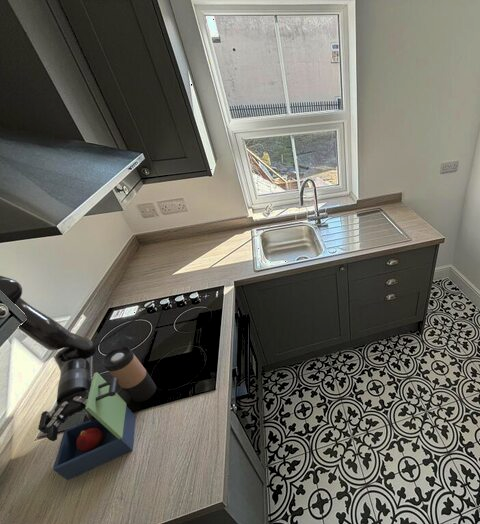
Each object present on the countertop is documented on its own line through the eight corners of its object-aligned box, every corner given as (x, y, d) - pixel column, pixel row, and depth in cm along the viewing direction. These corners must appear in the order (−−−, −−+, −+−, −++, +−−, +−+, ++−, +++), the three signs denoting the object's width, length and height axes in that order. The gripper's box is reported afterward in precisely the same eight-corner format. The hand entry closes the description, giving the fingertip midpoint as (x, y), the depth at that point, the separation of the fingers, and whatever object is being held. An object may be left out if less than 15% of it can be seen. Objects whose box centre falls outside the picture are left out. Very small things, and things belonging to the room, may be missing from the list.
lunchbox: (68, 480, 81) (52, 470, 77) (77, 441, 89) (64, 430, 85) (132, 450, 86) (121, 439, 82) (135, 416, 95) (125, 404, 91)
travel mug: (141, 406, 97) (111, 370, 86) (127, 398, 100) (96, 361, 89) (162, 387, 103) (135, 350, 92) (148, 379, 106) (120, 343, 94)
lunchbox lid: (85, 409, 72) (109, 399, 74) (93, 373, 81) (115, 365, 83) (119, 439, 82) (139, 430, 84) (123, 404, 91) (142, 396, 92)
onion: (99, 456, 85) (83, 443, 80) (80, 456, 85) (63, 443, 80) (112, 435, 89) (98, 421, 85) (94, 435, 90) (79, 422, 85)
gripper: (36, 393, 85) (29, 439, 74) (96, 366, 92) (97, 405, 81) (52, 407, 89) (47, 453, 78) (108, 381, 96) (111, 419, 85)
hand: (73, 428), depth 79 cm, fingers open, 8 cm apart
